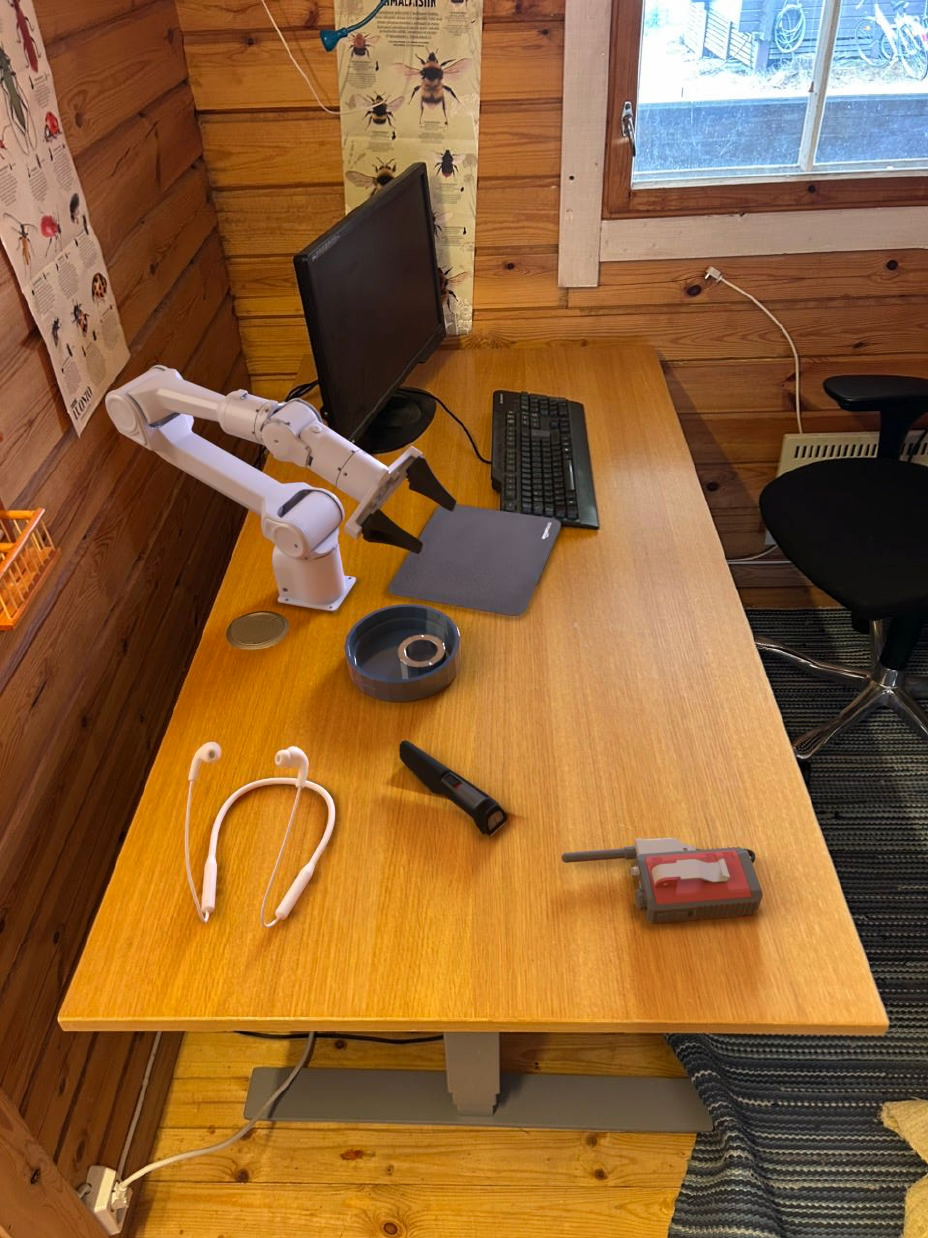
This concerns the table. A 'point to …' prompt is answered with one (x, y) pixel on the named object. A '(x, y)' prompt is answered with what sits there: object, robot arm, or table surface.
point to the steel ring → (419, 646)
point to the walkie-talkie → (686, 879)
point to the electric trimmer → (454, 788)
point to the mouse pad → (478, 559)
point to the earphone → (284, 759)
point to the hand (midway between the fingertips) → (437, 527)
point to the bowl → (378, 657)
